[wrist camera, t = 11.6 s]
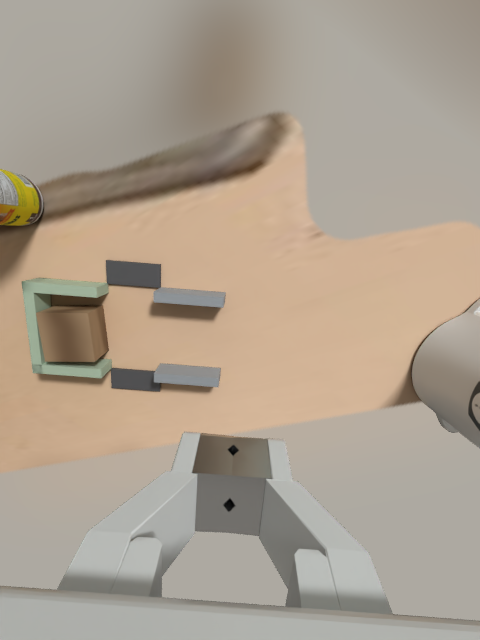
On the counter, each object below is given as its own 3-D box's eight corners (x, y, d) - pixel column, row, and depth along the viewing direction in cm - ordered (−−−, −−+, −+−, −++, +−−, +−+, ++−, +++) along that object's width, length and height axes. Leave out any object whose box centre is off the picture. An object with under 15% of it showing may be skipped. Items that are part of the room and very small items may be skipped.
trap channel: (227, 269, 36) (225, 272, 34) (218, 394, 41) (216, 407, 38) (36, 254, 36) (18, 256, 33) (50, 381, 41) (35, 393, 38)
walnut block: (103, 305, 38) (88, 313, 34) (109, 349, 40) (95, 361, 36) (56, 305, 38) (35, 312, 34) (64, 349, 40) (45, 361, 36)
